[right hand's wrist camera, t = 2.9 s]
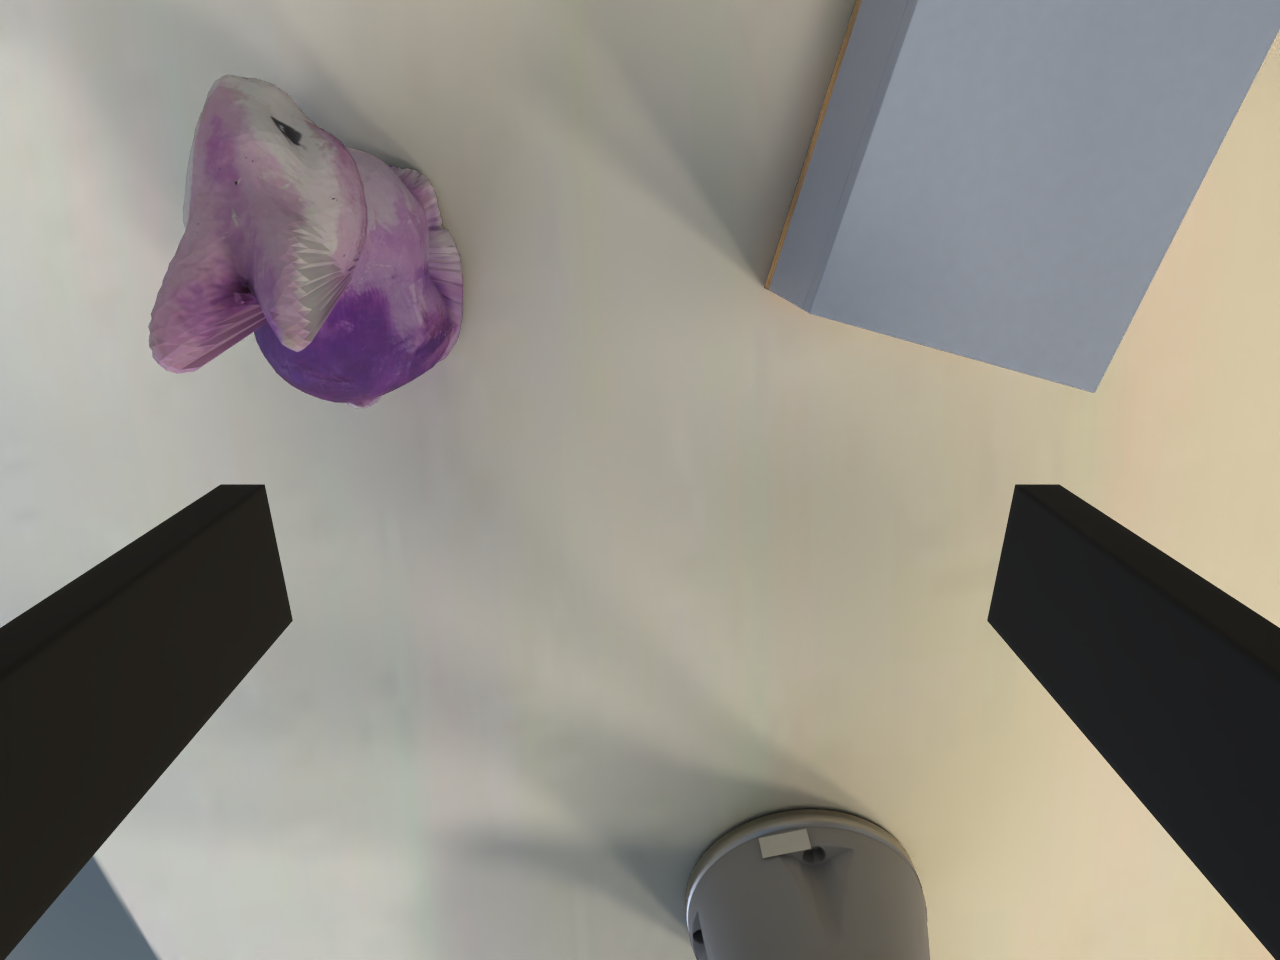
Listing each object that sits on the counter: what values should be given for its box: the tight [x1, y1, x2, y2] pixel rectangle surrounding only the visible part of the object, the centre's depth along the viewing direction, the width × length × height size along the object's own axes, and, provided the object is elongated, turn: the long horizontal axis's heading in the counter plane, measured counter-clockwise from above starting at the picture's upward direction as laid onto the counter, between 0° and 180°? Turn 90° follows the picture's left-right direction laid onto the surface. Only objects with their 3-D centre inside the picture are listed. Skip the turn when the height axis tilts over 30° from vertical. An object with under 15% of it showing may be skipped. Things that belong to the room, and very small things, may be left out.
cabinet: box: [764, 0, 1280, 393], centre depth 25 cm, size 22×11×9 cm, turn 165°
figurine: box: [149, 75, 463, 409], centre depth 25 cm, size 9×10×15 cm
